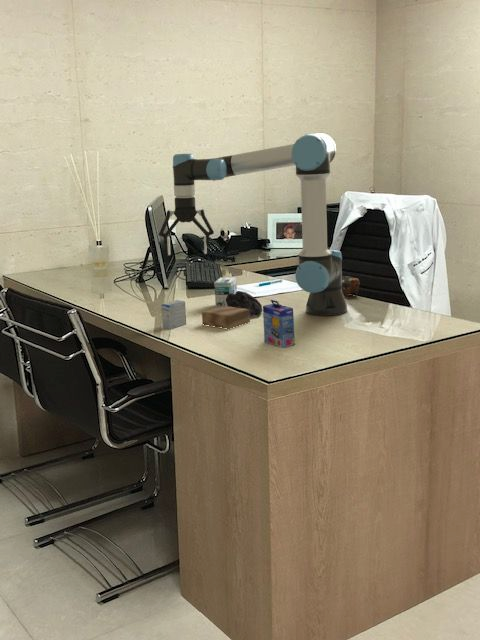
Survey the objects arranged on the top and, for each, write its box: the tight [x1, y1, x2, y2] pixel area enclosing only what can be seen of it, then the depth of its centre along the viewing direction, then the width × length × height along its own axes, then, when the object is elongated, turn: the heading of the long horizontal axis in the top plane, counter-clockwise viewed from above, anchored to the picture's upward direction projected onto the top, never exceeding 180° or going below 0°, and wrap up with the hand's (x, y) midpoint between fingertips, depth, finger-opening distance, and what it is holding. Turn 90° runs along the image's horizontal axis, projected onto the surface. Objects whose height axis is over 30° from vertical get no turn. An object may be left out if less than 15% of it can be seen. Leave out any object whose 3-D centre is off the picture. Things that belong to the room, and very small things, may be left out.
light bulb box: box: [213, 277, 238, 308], centre depth 309 cm, size 11×7×11 cm, turn 168°
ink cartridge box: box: [262, 299, 296, 349], centre depth 254 cm, size 10×6×14 cm, turn 35°
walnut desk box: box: [201, 306, 251, 330], centre depth 283 cm, size 12×12×5 cm
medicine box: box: [160, 299, 187, 330], centre depth 283 cm, size 8×4×9 cm, turn 141°
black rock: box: [226, 290, 263, 319], centre depth 295 cm, size 13×14×10 cm
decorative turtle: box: [342, 275, 361, 298], centre depth 322 cm, size 10×15×8 cm, turn 36°
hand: (187, 254), depth 297 cm, fingers open, 13 cm apart
